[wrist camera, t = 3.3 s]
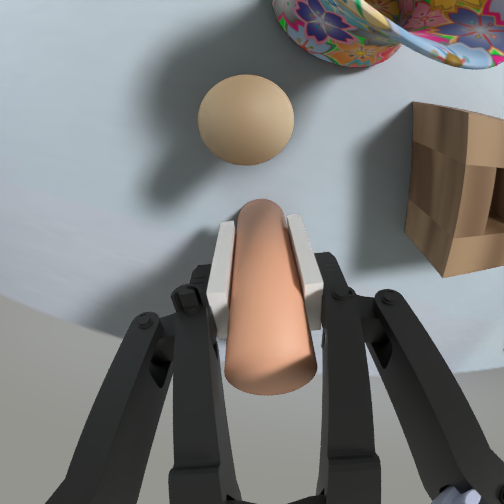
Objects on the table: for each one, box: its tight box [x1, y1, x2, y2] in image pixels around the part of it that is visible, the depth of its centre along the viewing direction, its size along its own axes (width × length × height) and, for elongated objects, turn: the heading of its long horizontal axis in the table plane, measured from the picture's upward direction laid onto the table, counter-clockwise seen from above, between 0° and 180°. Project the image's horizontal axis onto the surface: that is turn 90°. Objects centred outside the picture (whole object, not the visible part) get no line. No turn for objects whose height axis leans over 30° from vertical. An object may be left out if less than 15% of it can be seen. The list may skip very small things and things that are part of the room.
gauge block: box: [404, 102, 504, 278], centre depth 14 cm, size 10×10×6 cm
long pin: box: [224, 199, 317, 395], centre depth 14 cm, size 3×3×12 cm
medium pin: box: [198, 75, 294, 165], centre depth 12 cm, size 3×3×8 cm
